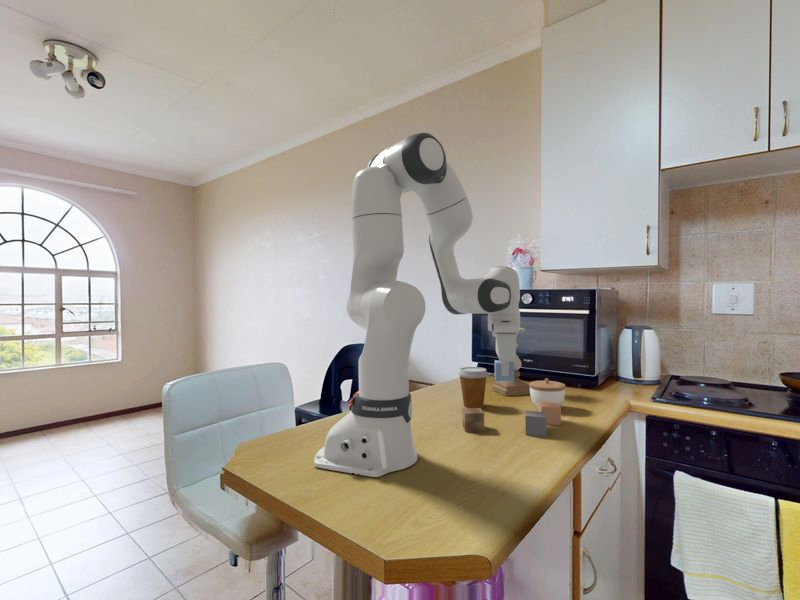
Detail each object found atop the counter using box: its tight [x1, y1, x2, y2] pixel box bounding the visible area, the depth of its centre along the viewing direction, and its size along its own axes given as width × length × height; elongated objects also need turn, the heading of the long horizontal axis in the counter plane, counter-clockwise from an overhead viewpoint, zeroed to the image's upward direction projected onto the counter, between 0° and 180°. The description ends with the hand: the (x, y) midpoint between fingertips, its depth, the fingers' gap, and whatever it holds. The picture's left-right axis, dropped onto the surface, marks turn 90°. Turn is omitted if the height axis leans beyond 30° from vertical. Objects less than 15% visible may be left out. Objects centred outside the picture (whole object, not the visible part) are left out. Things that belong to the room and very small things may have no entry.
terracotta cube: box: [537, 402, 562, 426], centre depth 109 cm, size 5×5×5 cm
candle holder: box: [491, 327, 530, 397], centre depth 145 cm, size 11×11×24 cm
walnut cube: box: [461, 407, 485, 433], centre depth 105 cm, size 5×5×5 cm
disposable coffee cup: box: [458, 366, 489, 409], centre depth 127 cm, size 10×10×12 cm
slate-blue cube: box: [494, 359, 514, 382], centre depth 110 cm, size 5×5×5 cm
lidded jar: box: [528, 378, 566, 409], centre depth 123 cm, size 11×11×9 cm
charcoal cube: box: [524, 410, 548, 438], centre depth 100 cm, size 5×5×5 cm
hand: (504, 373), depth 110 cm, fingers closed on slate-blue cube, 5 cm apart
